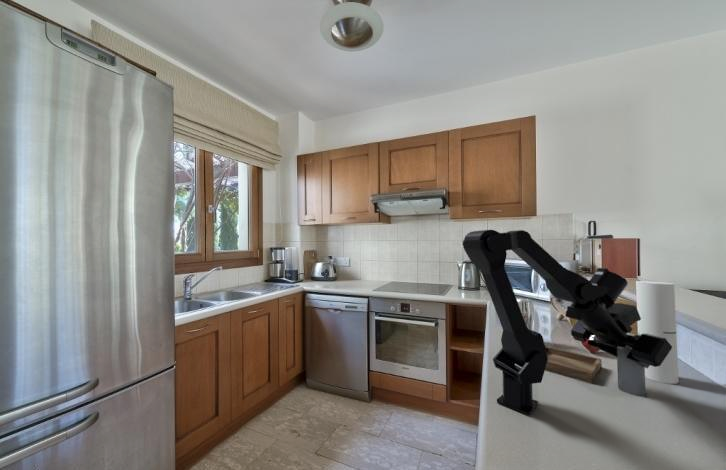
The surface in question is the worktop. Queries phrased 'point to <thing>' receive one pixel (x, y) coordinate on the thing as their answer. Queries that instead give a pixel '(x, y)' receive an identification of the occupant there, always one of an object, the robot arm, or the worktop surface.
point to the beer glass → (527, 311)
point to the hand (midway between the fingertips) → (635, 362)
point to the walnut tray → (573, 365)
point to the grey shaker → (630, 373)
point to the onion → (590, 347)
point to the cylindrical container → (659, 325)
